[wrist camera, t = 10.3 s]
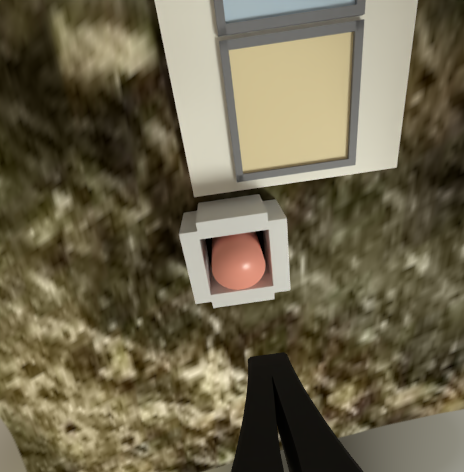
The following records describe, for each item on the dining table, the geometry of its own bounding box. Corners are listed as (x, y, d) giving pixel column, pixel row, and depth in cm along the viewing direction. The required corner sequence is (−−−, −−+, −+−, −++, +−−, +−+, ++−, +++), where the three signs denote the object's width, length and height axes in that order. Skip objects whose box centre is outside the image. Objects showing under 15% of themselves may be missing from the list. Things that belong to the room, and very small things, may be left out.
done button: (255, 218, 18) (263, 240, 16) (259, 258, 20) (267, 285, 17) (208, 225, 18) (207, 248, 16) (215, 265, 20) (216, 293, 17)
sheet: (438, -237, 11) (456, -262, 10) (391, 165, 18) (399, 168, 17) (118, -187, 11) (111, -209, 10) (194, 193, 18) (193, 199, 17)
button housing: (275, 191, 18) (286, 209, 15) (280, 269, 21) (290, 296, 18) (182, 205, 18) (176, 225, 15) (199, 281, 21) (197, 310, 18)
